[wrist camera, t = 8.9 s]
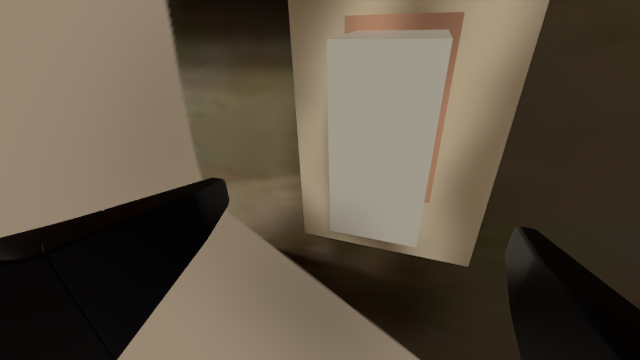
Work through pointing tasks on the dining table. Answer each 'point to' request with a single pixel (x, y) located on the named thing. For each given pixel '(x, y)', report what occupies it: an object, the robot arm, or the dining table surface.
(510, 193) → the dining table surface
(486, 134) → the board
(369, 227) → the block
